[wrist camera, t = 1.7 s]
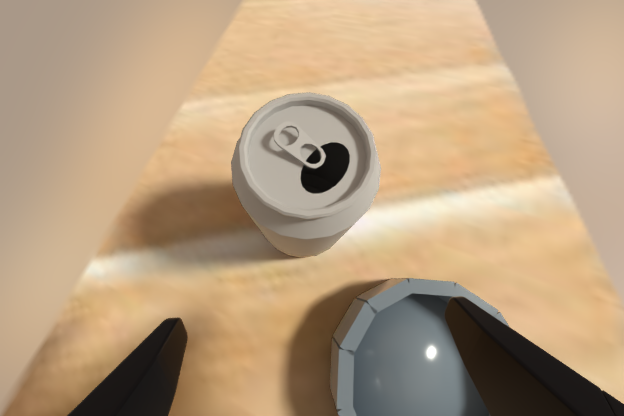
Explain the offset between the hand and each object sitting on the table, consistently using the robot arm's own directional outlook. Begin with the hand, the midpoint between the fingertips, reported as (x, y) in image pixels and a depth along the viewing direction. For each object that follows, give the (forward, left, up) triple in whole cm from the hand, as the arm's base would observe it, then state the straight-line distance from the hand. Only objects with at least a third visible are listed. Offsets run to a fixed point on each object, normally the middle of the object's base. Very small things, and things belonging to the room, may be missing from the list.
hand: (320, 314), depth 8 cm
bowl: (0, -10, -13) cm, 16 cm away
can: (+5, +4, -13) cm, 14 cm away
